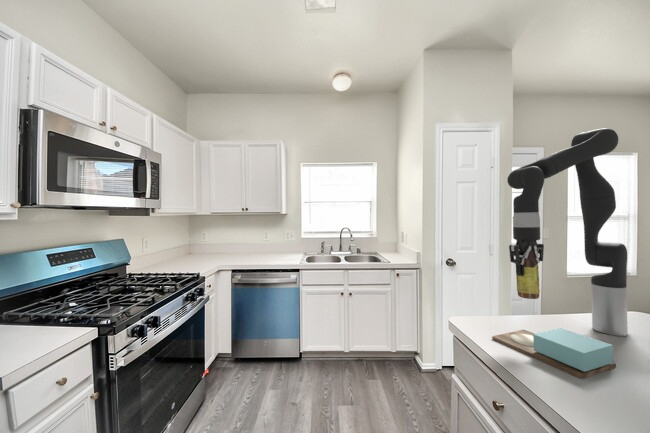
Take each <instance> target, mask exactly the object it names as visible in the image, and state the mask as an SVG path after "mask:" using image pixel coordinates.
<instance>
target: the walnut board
mask: <svg viewBox="0 0 650 433" xmlns="http://www.w3.org/2000/svg"><path fill="white" fill-rule="evenodd" d="M533 334H535V333H534V332H531V331H528V330H526V329H520V330H515V331H512V332H506V333H501V334H497V335H496V334H495V335H492V337H491V339H492V340H493V341H496V342H498V343H500V344H502V345H504V346H506V347H508V348H511V349H513V350H516V351H518V352H520V353H523V354H525V355H527V356H529V357H531V358H534V359H536V360H537V361H540V362H542V363H545V364H547V365H549V366H551V367H554V368H556V369H557V370H561V371H562V372H565V373H567V374H569V375H572V376H573V377H576V378H578V379H584V378H585V379H586V378H587V377H591V376H593V375H596V374H599V373H603V372H605V371H608V370H611V369H614V368H617V363H615V362H613V363H611V364H607V365H604V366H601V367H598V368H595V369H592V370H589V371H586V372H584V371H581V370H579V369H577V368H574V367H572V366H570V365H567V364H565V363H563V362H560V361H558V360H556V359H553V358H551V357H548V356H546V355H544V354H541V353H539V352H537V351H534V339H533Z"/></svg>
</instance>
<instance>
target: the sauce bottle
mask: <svg viewBox="0 0 650 433" xmlns="http://www.w3.org/2000/svg"><path fill="white" fill-rule="evenodd" d="M527 243H528V246H531V250H530V252H529V254H528V257H527V259H525V262H524V264H523V265H524V276H519V275H517V274H516V273H515V277H516V279H515V280H516V292H517V296H518V297H519V298H523V299H527V300H537V299H539V298H540V276H539V275H540V273H539V263H538V262H537V259H536V257H535V255H534V253H533V249H532V244H533V240H529V241H527ZM519 255H520V254H519ZM520 261H521V258H520Z"/></svg>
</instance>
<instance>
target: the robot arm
mask: <svg viewBox="0 0 650 433" xmlns="http://www.w3.org/2000/svg"><path fill="white" fill-rule="evenodd" d="M618 144H619V136H618V133H617V132H616V131H615V130H614V129H612V128H608V127H607V128H606V127H605V128H604V127H603V128H599V129H598V128H597V129H593V130H589V131H584V132H580V133H577V134H576V135H574V136H573V138H572V139H571V142H570V145H571V146H570V147H568V148H564V149H561V150H558V151H556V152H553V153H550V154H548V155H545V156H544V157H541V158H540V159H538V160H536V161H535V162H532V163H529V164H527V165H523V166H520V167H518V168H516V169H514V170H511V172H510V173H509V175H508V176H507V184H508V186H509V187H510V188H512V189H515V190H522V192H521V194H520V195H517V196H515V197H514V199H513V203H512V204H513V215H512V238H513V240H516V242H515V244H514V245H513V244H509V246H508V249H509V259H510V263H513V264H515V275H516V274H517V275H519V276H524V265H523V264H524V262H525V259H527V257H528V254H529V252H530V250H531V246H528V243H527V241H529V240H533V244H532V249H533V253H534V255H535V257H536V259H537V262H538V264H540V262H543V261H544V249H545V246H544V244H543V243H538V242H537V241H539V240H541V217H540V211H539V210H540V209H539V207H540V206H539V203H540V202H539V200H540V197H541V194H542V190H543V187H544V183H545V180H546V179H548V178H549V179H550V178H551V177H553V176H555V175H557V174H559V173H562V172H563V171H565V170H567V169H569V168H571V167H573V166H574V167H575V171H576V175H577V181H578V189H579V201H580V208H581V214H582V220H583V221H582V223H583V232H584V233H583V234H584V235H583V236H584V238H583V239H584V240H583V241H584V257H585V261H586V263H587V264H588V265H590V266H593V267H594V266H595V267H602V268H612V269H611V271H610V272H607V273H603V274H597V275H592V276H591V278H590V282H591V284H590V288H591V289H590V290H591V291H590V292H591V321H592V322H591V325H592V326H591V327H592V329H593V330H595V331H597V332H599V333H602V334H604V335H605V334H606V335H610V336H617V337H618V336H619V337H624V336H625V337H626V336H629V333H628V332H629V330H628V327H629V326H628V324H629V323H628V292H627V291H628V289H627V288H628V287H627V285H628V284H627V276H628V274H627V272H628V270H627V268H628V267H627V266H628V249H627V247H626V245H625V244H623V243H620V242H619V243H618V242H605V241H604V242H603V241H599V234H600V231H601V229H602V228H603V226H604V225H605V223H606V222H608V220H609V219H610V218H611V217H612V215H613V214H614V212H615V211H616V208H617V203H616V201H617V200H616V194H615V190H614V187H613V186H612V184H610V182H609V181H608V180H607V178H605V177H604V176H603V175H602V174H601V173H600V172H599V171H598V169H597V167H596V162H595V159H594V158H596V157H601V156H603V155H607V154H609V153H611V152H613V151H614V150H615V149H616V148H617V146H618ZM519 254H520V255H519ZM520 258H521V261H520Z"/></svg>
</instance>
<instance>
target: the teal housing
mask: <svg viewBox="0 0 650 433" xmlns="http://www.w3.org/2000/svg"><path fill="white" fill-rule="evenodd" d="M533 339H534V351H537V352H539V353H541V354H544V355H546V356H548V357H551V358H553V359H556V360H558V361H560V362H563V363H565V364H567V365H570V366H572V367H574V368H577V369H579V370H581V371H584V372H586V371H589V370H592V369H595V368H598V367H601V366H604V365H607V364H611V363H614V348H613V347H614V345H613V344H610V343H607V342H606V341H605V342H604V341H602V340H599V339H595V338H592V337H589V336H586V335H583V334H579V333H576V332H574V331H570V330H568V329H565V328H562V327H561V328H560V327H559V328H555V329H550V330H546V331H542V332H538V333H534V334H533Z"/></svg>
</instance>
